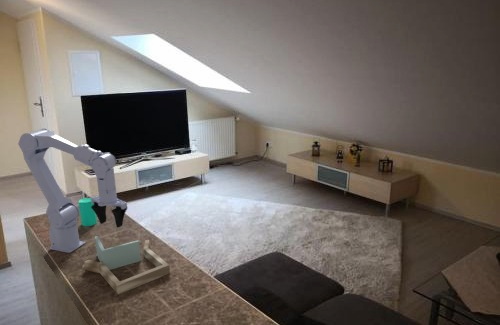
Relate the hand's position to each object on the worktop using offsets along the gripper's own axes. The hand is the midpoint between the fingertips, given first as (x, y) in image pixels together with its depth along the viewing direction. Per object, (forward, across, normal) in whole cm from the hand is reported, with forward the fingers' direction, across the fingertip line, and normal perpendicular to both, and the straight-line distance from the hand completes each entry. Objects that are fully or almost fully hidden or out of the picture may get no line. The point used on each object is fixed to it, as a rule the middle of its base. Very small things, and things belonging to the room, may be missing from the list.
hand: (111, 224), depth 134 cm
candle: (+11, -27, +14) cm, 32 cm away
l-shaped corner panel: (+10, +6, -4) cm, 12 cm away
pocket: (+10, +15, -8) cm, 20 cm away
